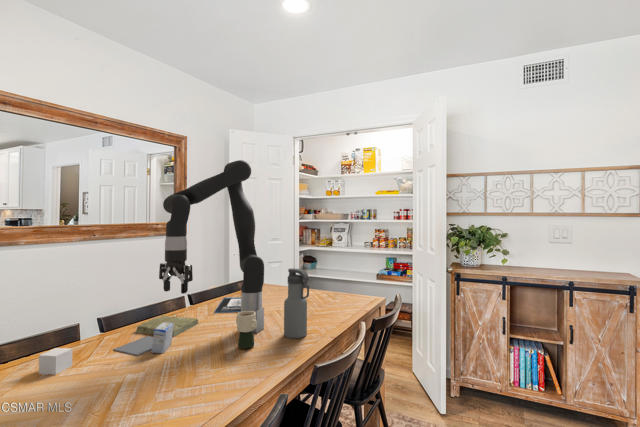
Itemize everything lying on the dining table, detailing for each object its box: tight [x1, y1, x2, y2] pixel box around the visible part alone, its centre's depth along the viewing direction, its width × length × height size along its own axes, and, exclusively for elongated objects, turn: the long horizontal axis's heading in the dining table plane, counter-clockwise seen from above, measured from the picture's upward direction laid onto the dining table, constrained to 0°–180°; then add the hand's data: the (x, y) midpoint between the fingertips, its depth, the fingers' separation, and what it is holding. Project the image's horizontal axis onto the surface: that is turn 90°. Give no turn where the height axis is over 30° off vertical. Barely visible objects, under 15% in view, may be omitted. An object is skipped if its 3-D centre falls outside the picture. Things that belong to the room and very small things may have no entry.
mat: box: [113, 335, 153, 357], centre depth 127 cm, size 13×15×1 cm
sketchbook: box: [213, 296, 241, 314], centre depth 186 cm, size 22×30×2 cm
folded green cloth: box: [135, 315, 199, 338], centre depth 147 cm, size 19×20×4 cm
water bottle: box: [283, 267, 310, 340], centre depth 140 cm, size 10×10×28 cm
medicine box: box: [150, 322, 174, 354], centre depth 123 cm, size 8×4×9 cm, turn 5°
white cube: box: [38, 347, 73, 376], centre depth 107 cm, size 6×6×6 cm
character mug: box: [235, 311, 257, 349], centre depth 126 cm, size 11×7×13 cm, turn 56°
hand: (175, 292), depth 121 cm, fingers open, 8 cm apart
